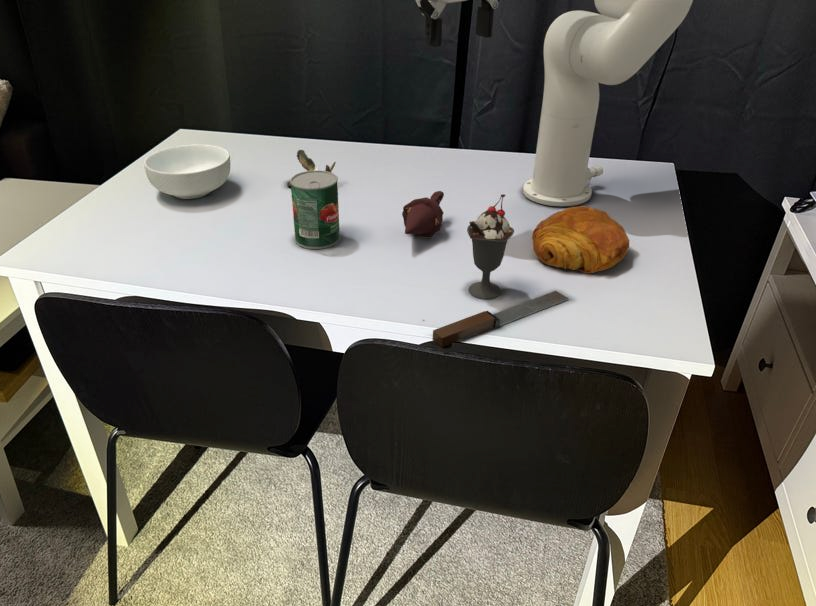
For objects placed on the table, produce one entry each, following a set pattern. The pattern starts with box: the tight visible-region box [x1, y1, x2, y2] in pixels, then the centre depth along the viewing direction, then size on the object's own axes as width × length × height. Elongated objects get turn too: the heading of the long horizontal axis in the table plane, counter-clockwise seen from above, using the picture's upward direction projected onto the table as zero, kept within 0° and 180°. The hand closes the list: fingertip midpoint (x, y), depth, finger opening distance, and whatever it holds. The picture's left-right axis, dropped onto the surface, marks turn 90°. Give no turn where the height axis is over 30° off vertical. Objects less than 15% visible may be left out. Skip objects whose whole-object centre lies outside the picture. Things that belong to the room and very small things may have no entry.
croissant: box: [531, 205, 630, 274], centre depth 114 cm, size 14×16×8 cm
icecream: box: [401, 190, 445, 239], centre depth 122 cm, size 7×7×15 cm
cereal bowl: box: [143, 143, 231, 200], centre depth 141 cm, size 17×17×7 cm
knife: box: [432, 290, 569, 348], centre depth 101 cm, size 23×3×2 cm, turn 120°
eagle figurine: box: [286, 149, 336, 187], centre depth 142 cm, size 8×7×9 cm
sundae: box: [466, 194, 515, 300], centre depth 103 cm, size 7×7×15 cm
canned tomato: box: [289, 169, 341, 250], centre depth 121 cm, size 8×8×11 cm
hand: (458, 40), depth 110 cm, fingers open, 9 cm apart
